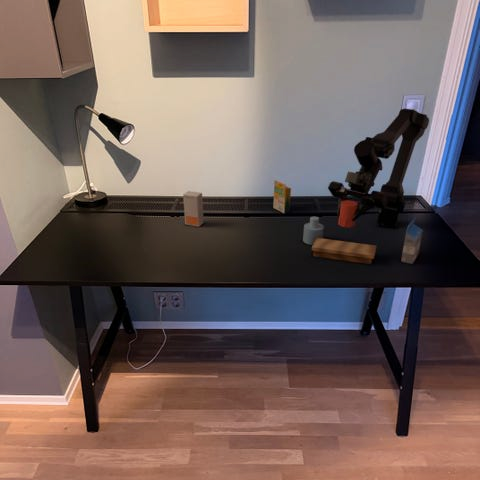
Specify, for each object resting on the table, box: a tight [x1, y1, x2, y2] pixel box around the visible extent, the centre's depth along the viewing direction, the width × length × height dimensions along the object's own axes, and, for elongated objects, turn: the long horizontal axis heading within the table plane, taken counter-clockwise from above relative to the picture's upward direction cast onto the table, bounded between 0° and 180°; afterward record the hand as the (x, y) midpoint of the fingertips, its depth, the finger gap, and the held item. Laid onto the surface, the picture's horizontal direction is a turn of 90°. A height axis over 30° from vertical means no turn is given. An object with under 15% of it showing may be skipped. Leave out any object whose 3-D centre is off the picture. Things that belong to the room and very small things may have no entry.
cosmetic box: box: [182, 190, 205, 228], centre depth 172 cm, size 6×4×12 cm
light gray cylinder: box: [302, 216, 325, 246], centre depth 160 cm, size 7×7×8 cm
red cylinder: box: [337, 199, 358, 228], centre depth 144 cm, size 5×5×7 cm
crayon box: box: [272, 180, 292, 214], centre depth 183 cm, size 7×3×12 cm, turn 34°
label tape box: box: [400, 216, 424, 265], centre depth 147 cm, size 9×4×12 cm, turn 148°
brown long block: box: [311, 238, 378, 265], centre depth 151 cm, size 20×8×4 cm, turn 71°
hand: (345, 218), depth 144 cm, fingers closed on red cylinder, 5 cm apart
